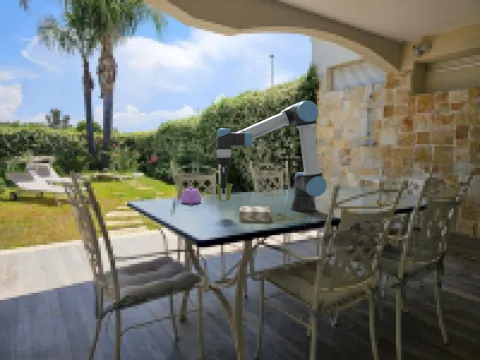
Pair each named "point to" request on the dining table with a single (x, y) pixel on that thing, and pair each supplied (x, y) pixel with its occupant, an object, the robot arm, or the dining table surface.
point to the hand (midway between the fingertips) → (224, 198)
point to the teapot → (191, 196)
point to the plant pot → (228, 191)
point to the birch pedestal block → (254, 213)
